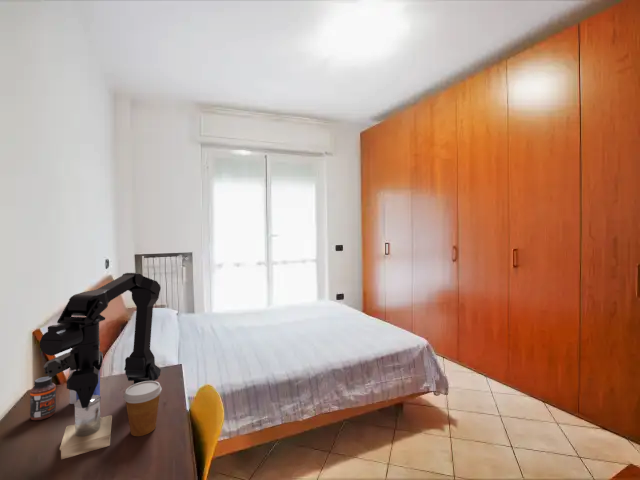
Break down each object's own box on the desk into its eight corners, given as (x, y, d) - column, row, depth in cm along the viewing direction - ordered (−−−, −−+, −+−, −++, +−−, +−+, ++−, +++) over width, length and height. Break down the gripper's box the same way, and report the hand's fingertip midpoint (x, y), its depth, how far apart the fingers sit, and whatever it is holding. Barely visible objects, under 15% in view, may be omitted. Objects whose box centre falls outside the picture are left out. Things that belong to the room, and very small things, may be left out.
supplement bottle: (40, 422, 94) (40, 384, 94) (24, 420, 95) (24, 382, 95) (61, 411, 100) (60, 375, 100) (45, 409, 101) (45, 374, 101)
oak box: (112, 425, 93) (112, 415, 92) (110, 445, 84) (110, 434, 84) (66, 437, 87) (66, 426, 87) (60, 460, 78) (59, 448, 78)
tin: (76, 428, 86) (75, 398, 86) (101, 421, 89) (101, 393, 89) (73, 439, 81) (72, 408, 81) (100, 432, 84) (99, 402, 84)
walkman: (100, 397, 108) (99, 362, 108) (95, 402, 105) (95, 366, 105) (74, 399, 107) (73, 364, 107) (69, 404, 104) (68, 367, 104)
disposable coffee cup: (115, 435, 88) (115, 392, 88) (145, 417, 97) (145, 377, 97) (140, 443, 84) (140, 399, 84) (169, 423, 93) (169, 383, 93)
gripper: (54, 336, 89) (54, 392, 89) (38, 359, 73) (38, 427, 73) (102, 330, 94) (103, 383, 95) (97, 350, 78) (98, 413, 79)
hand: (86, 399), depth 85 cm, fingers open, 9 cm apart
